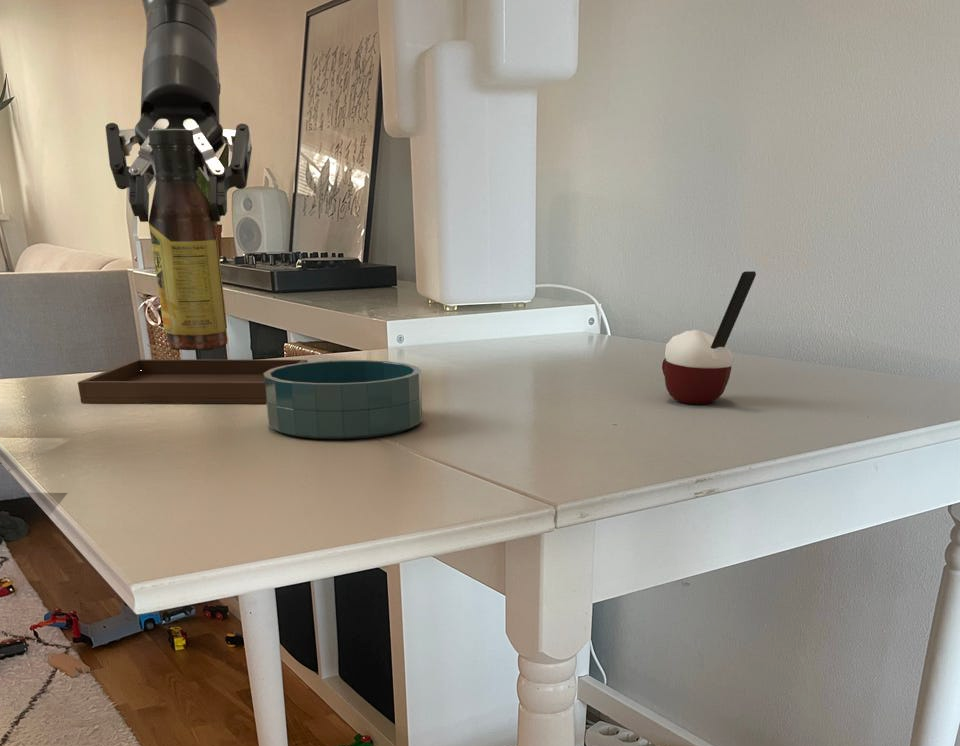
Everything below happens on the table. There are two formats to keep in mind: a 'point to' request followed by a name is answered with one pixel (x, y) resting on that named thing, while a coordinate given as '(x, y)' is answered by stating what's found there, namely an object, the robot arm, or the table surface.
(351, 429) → the bowl
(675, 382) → the ice cream cup
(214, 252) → the sauce bottle
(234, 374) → the tray
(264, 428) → the table surface
